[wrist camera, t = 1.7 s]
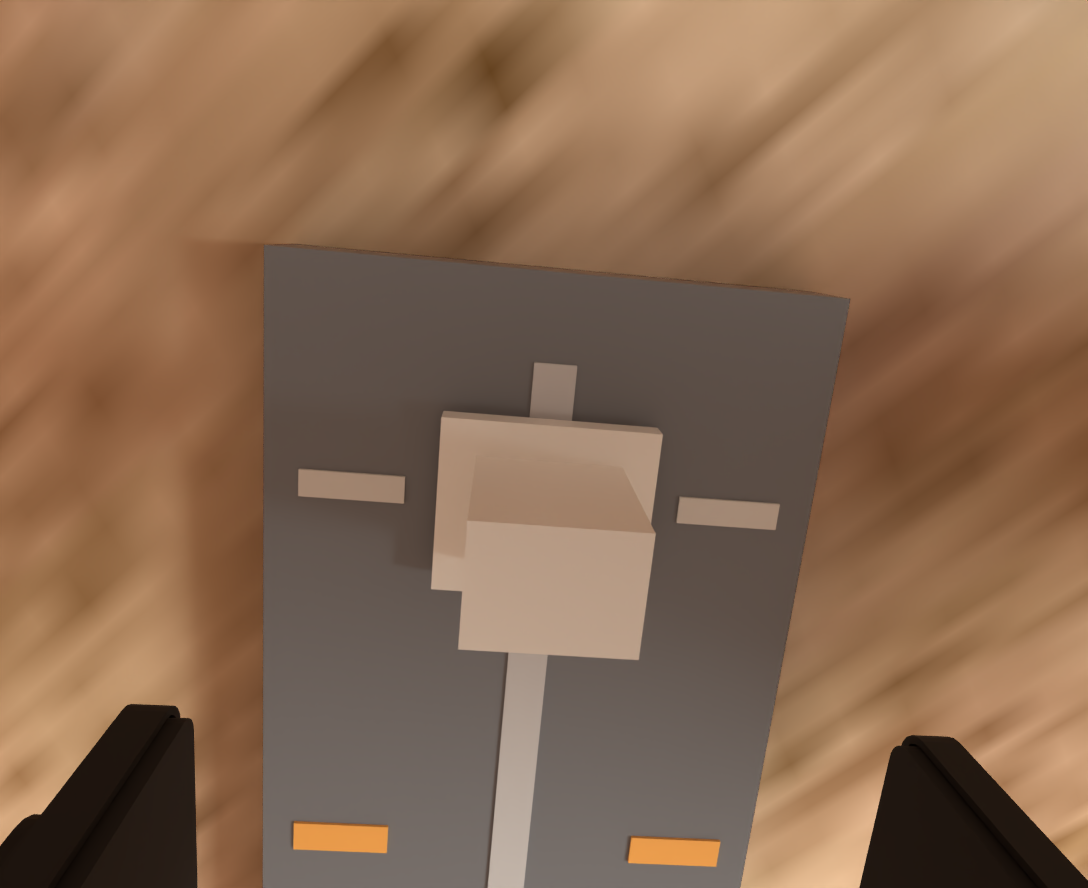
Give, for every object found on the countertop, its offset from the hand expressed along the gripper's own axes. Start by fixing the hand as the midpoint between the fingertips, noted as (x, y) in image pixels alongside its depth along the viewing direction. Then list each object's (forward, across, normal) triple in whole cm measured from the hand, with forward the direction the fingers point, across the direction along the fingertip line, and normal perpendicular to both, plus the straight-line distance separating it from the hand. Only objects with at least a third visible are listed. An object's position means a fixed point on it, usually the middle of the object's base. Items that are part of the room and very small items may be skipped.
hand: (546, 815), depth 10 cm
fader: (+12, -1, 0) cm, 13 cm away
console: (+16, -1, +6) cm, 17 cm away
